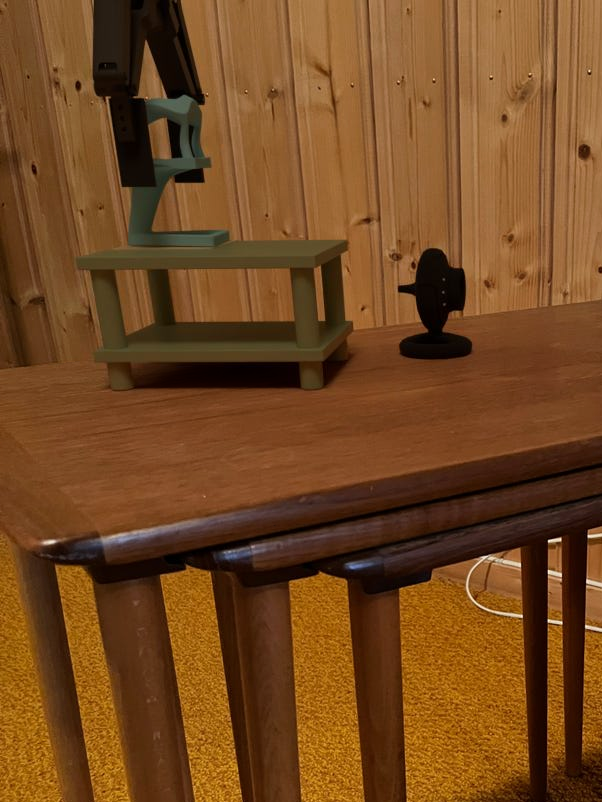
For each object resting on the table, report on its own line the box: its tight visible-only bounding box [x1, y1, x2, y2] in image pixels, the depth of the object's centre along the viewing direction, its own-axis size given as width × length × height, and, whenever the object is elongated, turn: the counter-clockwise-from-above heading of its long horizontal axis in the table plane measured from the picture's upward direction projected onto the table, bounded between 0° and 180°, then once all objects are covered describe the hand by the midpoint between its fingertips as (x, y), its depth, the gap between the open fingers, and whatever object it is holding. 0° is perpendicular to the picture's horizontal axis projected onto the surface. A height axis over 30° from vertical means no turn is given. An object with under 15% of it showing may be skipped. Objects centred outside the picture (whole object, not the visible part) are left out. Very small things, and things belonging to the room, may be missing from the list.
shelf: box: [74, 239, 355, 391], centre depth 89 cm, size 20×16×11 cm
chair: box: [127, 95, 231, 247], centre depth 87 cm, size 8×8×12 cm
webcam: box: [397, 247, 473, 360], centre depth 98 cm, size 8×8×10 cm
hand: (166, 185), depth 88 cm, fingers open, 13 cm apart
